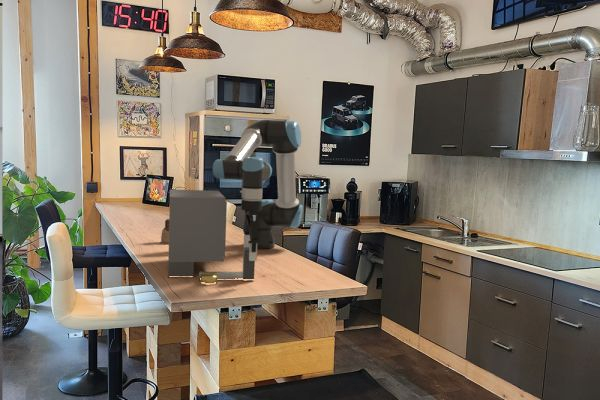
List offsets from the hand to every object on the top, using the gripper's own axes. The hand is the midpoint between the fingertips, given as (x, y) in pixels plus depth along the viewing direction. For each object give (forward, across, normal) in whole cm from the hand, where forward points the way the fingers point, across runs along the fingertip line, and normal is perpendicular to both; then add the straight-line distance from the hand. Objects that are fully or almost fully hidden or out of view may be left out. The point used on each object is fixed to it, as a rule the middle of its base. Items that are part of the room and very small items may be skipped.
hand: (249, 256), depth 183 cm
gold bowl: (+9, +3, -15) cm, 18 cm away
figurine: (+10, -68, -29) cm, 75 cm away
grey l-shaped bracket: (+9, 0, -8) cm, 12 cm away
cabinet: (+9, -18, -19) cm, 28 cm away
